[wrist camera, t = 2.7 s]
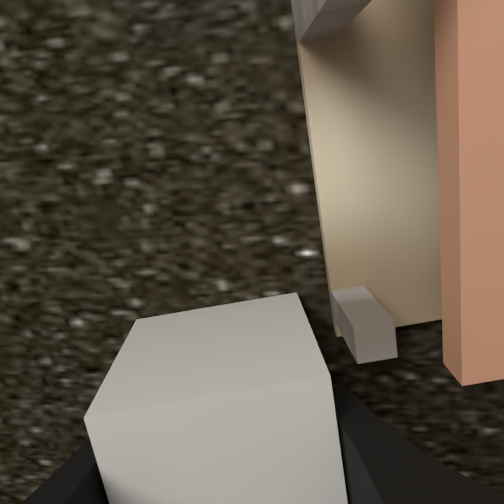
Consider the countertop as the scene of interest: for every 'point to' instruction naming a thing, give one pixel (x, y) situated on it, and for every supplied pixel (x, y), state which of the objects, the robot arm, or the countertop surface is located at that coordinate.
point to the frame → (374, 162)
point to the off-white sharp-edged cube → (219, 410)
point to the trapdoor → (471, 185)
